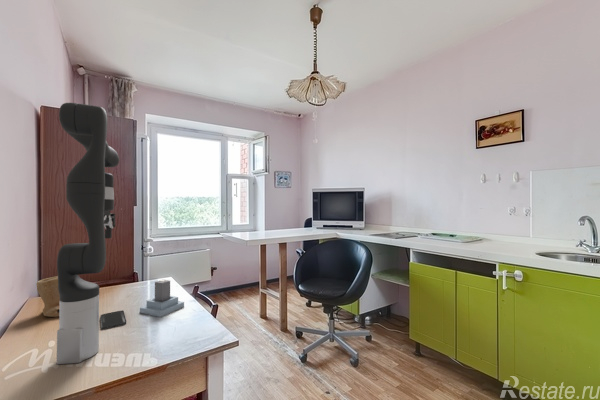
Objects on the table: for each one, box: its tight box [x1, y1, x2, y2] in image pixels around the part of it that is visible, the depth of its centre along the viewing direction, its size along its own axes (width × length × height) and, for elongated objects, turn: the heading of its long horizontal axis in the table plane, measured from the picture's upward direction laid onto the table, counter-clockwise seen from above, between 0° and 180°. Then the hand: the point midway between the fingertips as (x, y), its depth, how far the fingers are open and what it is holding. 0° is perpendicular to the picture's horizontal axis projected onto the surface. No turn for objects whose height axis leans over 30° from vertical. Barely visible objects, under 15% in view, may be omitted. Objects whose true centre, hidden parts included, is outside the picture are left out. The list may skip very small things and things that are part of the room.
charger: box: [154, 279, 171, 302], centre depth 116 cm, size 4×4×10 cm
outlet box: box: [139, 295, 185, 318], centre depth 116 cm, size 12×12×4 cm
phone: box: [99, 310, 127, 331], centre depth 105 cm, size 8×1×15 cm
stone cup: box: [36, 275, 60, 318], centre depth 113 cm, size 15×12×15 cm
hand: (102, 239), depth 108 cm, fingers open, 8 cm apart
